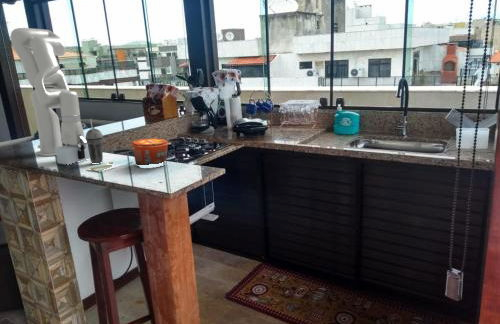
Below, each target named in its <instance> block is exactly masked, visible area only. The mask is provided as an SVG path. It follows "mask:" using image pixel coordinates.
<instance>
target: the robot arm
mask: <svg viewBox="0 0 500 324" xmlns="http://www.w3.org/2000/svg"><path fill="white" fill-rule="evenodd" d="M10 41H11V46H12V48H13V50H14V51H15V53H16V55H17V56H18V57H19V58H18V59H20V61H21V63H22V67H23V69H24V73H25V75H26V78H27V81H28V83H29V85H30V86H31V87H34V90H33V91H32V92H31V94H30V98H31V103H32V106H33V109H34V112H35V120H36V125H37V131H38V138H39V145H37V148H38V149H39V151H38V152H37V155H38V156H41V157H53V156H57V155H56V148H57V147H62V146H66V145H76V146H77V148H78V150H79V151H78V159H84V158H85V152H84V150H85V147H86V145H87V142H86V139H85V134H84V133H85V132H84V129H83V123H82V120H81V113H80V111H81V110H80V103H79V95H78V93H77V91H75V90H70V88H69V85H68V82H67V79H66V76H65V74H64V72H63V71H62V70H61V69H60V64H59V61H58V59H57V57H61V56H64V55H65V54H66V52H67V50H66V49H67V47H66V44H65V42H64V40H63V39H62V38H61V37H60V36H58V35H57V34H56V33H54V32H53V31H51V30H49V29H42V28H29V27H18V28H14V29H12V31H11V33H10ZM56 56H57V57H56ZM53 109H60V113H61V114H60V116H61V124H60V118H59V116H58V114H57V112H55V111H54V110H53ZM60 125H61V126H60ZM79 145H81V147H80V146H79Z"/></svg>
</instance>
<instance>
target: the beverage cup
mask: <svg viewBox="0 0 500 324" xmlns="http://www.w3.org/2000/svg"><path fill="white" fill-rule="evenodd" d="M89 121H90V122H89V123H90V126H91V127H90V129H89V130H87V132H86V134H85V137H84V139H85V140H86V142H87V144H88V149H89V154H90V159H89V160H90V162H92V163H100V162H102V163H103V155H104V154H103V151H104V150H103V143H104V135H103V133H102V132H101V131H100V130H99V129H97V128H94V126H93V121H92V118H90V119H89ZM92 163H91V164H92Z"/></svg>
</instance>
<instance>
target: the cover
mask: <svg viewBox="0 0 500 324" xmlns="http://www.w3.org/2000/svg"><path fill="white" fill-rule="evenodd" d="M79 146H80V147H81V145H79ZM78 151H79V150H78V148H77V146H76V145H66V146H64V145H62V147H57V148H56V155H55V156H56V162H57V164H61V165H66V164H67V165H66V166H70V165H73V164H72V163H74V164H76V163H75V162H77V163H79V162H78V161H81V160H85V161H87V160H86V159H89V158H90V154H89V149H88V144H87V145H86V147H85V150H84V152H85V158H84V159H78ZM89 160H90V159H89ZM81 162H82V161H81ZM69 164H70V165H69Z"/></svg>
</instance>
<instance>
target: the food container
mask: <svg viewBox="0 0 500 324" xmlns="http://www.w3.org/2000/svg"><path fill="white" fill-rule="evenodd" d="M169 145H170V142H169V141H168V140H167V139H164V138H156V137H155V138H154V137H152V138H140V139H136V140H133V141H132V142H131V144H130V146H131V148H132V152H133V157H134V162H135V165H136V164H137V165H149V164H159V163H162V162H164V161H166V162H167V159H168V158H167V156H168V146H169Z"/></svg>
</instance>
